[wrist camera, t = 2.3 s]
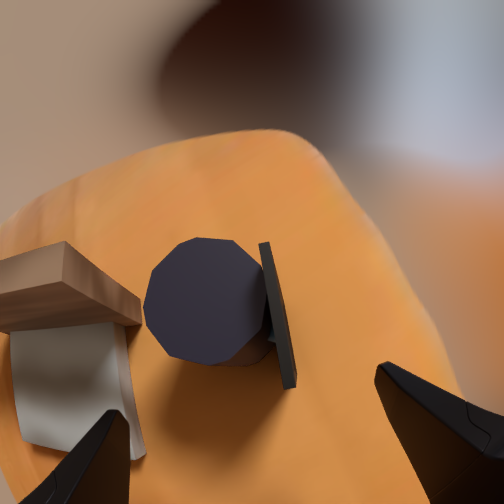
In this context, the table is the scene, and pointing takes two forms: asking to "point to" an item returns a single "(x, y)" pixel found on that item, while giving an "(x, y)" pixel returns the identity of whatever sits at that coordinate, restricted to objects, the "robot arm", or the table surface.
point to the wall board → (67, 345)
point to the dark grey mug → (219, 306)
